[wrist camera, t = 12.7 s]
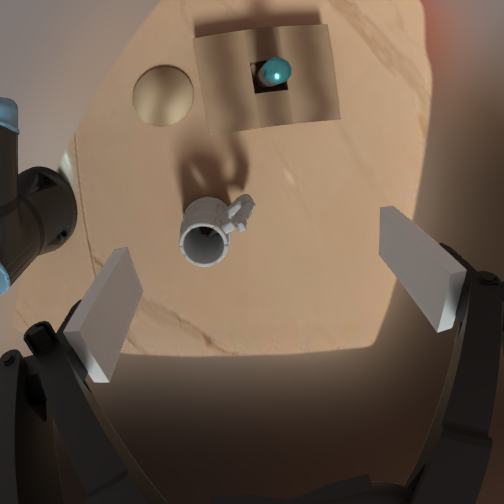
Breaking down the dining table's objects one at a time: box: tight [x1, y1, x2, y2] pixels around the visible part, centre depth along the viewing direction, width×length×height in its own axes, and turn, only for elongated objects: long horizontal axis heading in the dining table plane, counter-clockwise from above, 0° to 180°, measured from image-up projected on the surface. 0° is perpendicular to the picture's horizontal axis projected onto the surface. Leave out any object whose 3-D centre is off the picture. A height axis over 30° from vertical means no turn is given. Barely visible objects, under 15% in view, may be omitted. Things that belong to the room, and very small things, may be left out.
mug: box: [179, 194, 255, 267], centre depth 44 cm, size 8×12×12 cm, turn 124°
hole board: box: [193, 25, 341, 136], centre depth 39 cm, size 18×14×4 cm
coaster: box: [133, 67, 194, 126], centre depth 40 cm, size 9×9×1 cm
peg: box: [256, 57, 292, 88], centre depth 35 cm, size 3×3×12 cm
